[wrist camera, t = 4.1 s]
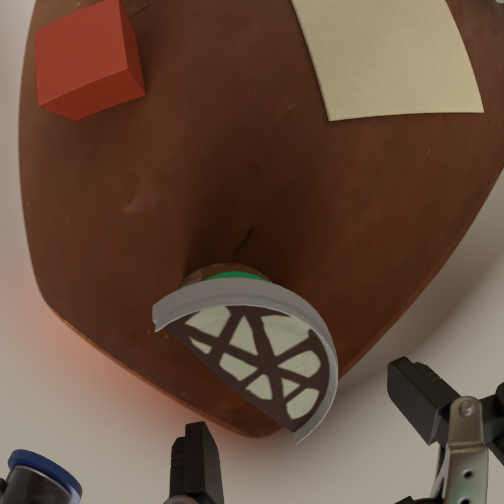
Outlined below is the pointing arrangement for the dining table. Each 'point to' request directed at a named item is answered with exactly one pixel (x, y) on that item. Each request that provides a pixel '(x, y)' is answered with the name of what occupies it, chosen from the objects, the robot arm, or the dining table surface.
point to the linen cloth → (387, 57)
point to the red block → (88, 61)
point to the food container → (256, 341)
